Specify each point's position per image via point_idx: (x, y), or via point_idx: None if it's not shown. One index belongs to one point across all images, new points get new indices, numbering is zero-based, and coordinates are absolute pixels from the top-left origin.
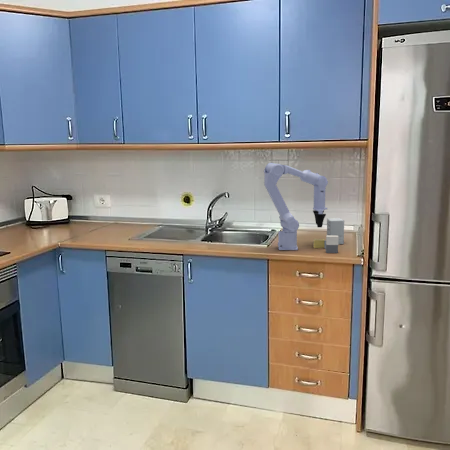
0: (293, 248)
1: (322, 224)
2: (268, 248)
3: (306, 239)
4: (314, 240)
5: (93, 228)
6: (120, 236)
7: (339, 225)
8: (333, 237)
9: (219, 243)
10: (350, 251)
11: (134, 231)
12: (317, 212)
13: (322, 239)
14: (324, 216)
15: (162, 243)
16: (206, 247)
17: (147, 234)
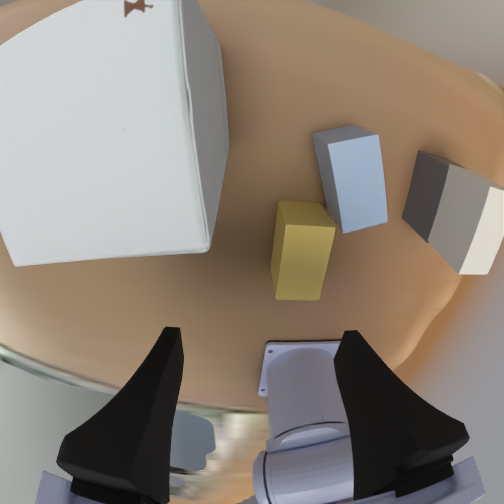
0: (333, 358)
1: (373, 350)
2: None
3: (92, 281)
4: (319, 296)
5: None
6: (175, 501)
7: (203, 67)
8: (502, 228)
9: (213, 464)
10: (429, 69)
11: None
12: (158, 479)
13: (304, 243)
14: (449, 422)
15: (218, 491)
16: None
17: None
